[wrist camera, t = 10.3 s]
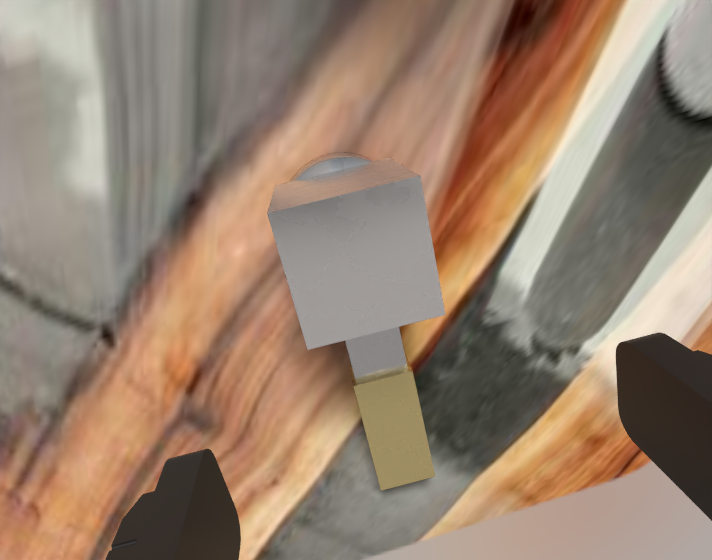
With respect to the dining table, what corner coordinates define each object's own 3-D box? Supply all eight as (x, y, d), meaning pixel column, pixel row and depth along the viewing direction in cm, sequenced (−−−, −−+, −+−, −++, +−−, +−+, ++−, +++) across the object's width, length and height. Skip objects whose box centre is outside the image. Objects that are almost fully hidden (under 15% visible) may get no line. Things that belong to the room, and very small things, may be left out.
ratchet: (450, 445, 35) (488, 533, 28) (351, 471, 34) (365, 566, 27) (390, 138, 27) (421, 151, 20) (265, 169, 27) (253, 192, 20)
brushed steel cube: (411, 265, 27) (445, 314, 21) (305, 292, 27) (307, 349, 20) (389, 157, 25) (420, 175, 19) (275, 185, 25) (267, 213, 18)
